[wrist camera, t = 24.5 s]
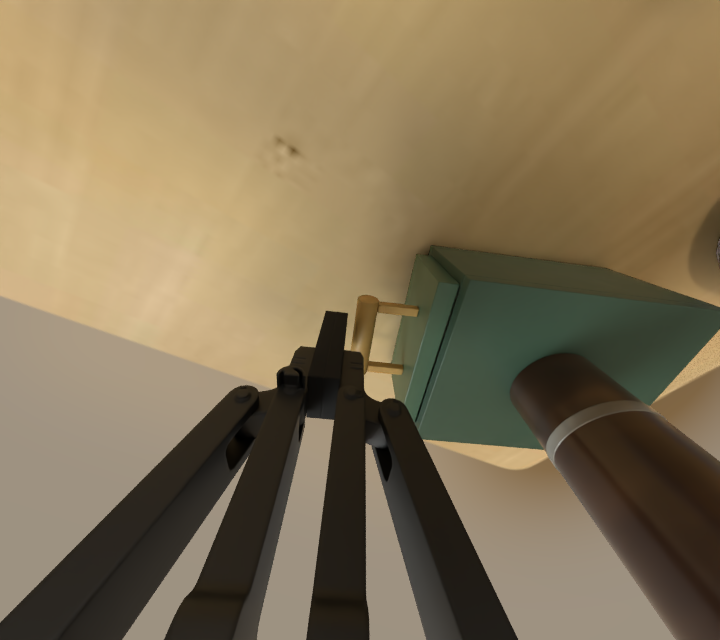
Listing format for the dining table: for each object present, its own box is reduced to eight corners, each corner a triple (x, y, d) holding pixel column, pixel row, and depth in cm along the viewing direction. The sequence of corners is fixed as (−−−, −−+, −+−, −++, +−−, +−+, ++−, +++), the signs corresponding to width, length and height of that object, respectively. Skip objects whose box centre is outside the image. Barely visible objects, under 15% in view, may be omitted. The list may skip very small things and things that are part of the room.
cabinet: (400, 367, 26) (415, 439, 18) (430, 245, 20) (470, 279, 13) (538, 381, 26) (605, 455, 19) (606, 268, 21) (735, 312, 14)
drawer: (347, 363, 24) (343, 416, 19) (362, 246, 19) (363, 272, 14) (525, 381, 25) (571, 437, 20) (584, 275, 20) (670, 310, 15)
